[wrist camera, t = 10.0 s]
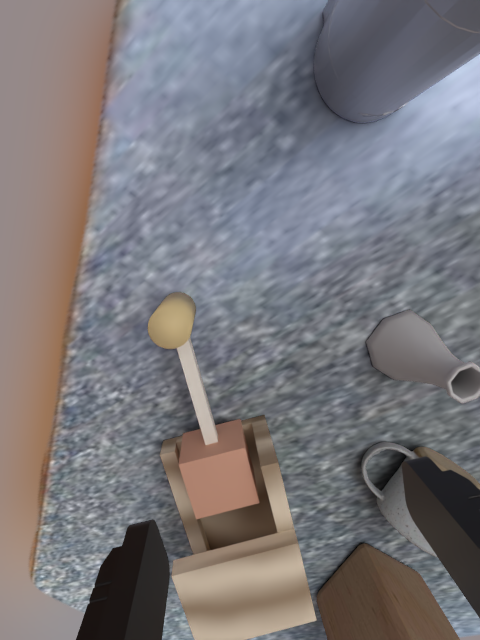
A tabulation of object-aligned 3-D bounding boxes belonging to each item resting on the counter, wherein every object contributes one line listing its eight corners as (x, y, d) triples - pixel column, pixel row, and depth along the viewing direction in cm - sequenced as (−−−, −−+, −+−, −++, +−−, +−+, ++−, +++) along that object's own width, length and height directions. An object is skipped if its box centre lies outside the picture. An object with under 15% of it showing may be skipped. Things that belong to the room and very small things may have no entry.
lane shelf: (163, 440, 37) (147, 509, 28) (264, 414, 37) (281, 474, 28) (201, 557, 41) (199, 651, 31) (293, 533, 41) (316, 620, 32)
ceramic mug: (455, 456, 40) (510, 506, 33) (417, 511, 42) (461, 571, 34) (379, 421, 39) (418, 464, 31) (342, 479, 40) (371, 535, 32)
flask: (389, 389, 38) (451, 443, 28) (353, 340, 36) (404, 378, 26) (445, 348, 37) (528, 389, 27) (411, 296, 35) (486, 319, 26)
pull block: (142, 300, 32) (123, 317, 25) (205, 284, 32) (203, 297, 25) (198, 480, 37) (195, 535, 30) (253, 466, 37) (262, 518, 30)
